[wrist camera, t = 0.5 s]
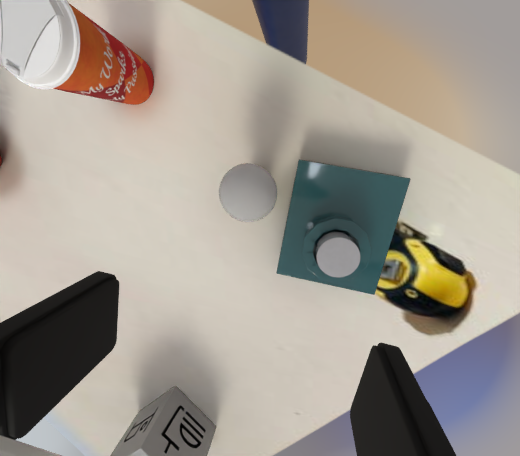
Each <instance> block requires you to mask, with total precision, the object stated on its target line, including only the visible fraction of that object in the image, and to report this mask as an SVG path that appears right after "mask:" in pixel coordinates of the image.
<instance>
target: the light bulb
mask: <svg viewBox="0 0 520 456" xmlns="http://www.w3.org/2000/svg"><path fill="white" fill-rule="evenodd" d="M219 197H220V201H221V204H222V206H223V208H224V209H225V211H226V212H227V213H228V214H229V215H230V216H232V217H233V218H235V219H237V220H240V221H244V222H252V221H257V220H259V219H262V218H263V217H265V216H266V215H267V214H268V213H269V212H270V211H271V210H272V209H273V207H274V205H275V202H276V199H277V187H276V183H275V181H274V179H273V177H272V176H271V174H270V173H269V172H268V171H267V170H266V169H264V168H263V167H261V166H259V165H256V164H248V163H246V164H240V165H237V166H235V167H233V168H232V169H230V170H229V171H228V172H227V173H226V174H225V176H224V177H223V179H222V181H221V184H220V188H219Z"/></svg>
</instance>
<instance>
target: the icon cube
mask: <svg viewBox="0 0 520 456" xmlns="http://www.w3.org/2000/svg"><path fill="white" fill-rule="evenodd" d="M215 429H216V426H215V425H214V424H213V423H212V422H211V421H210V420H209V419H208V418H207V417H206V416H205V415H204V414H203V413H202V412H201V411H200V410H199V409H198V408H197V407H196V406H195V405H194V404H193V403H192V402H191V401H190V400H189V399H188V398H187V397H186V396H185V395H184V394H183V393H182V392H181V391H180V390H179V389H178V388H177V387H176V386H175V387H173V388H172V389H170V390H169V391H167V392H166V393H165V394H163V395H162V396H160V397H159V398H158V399H156V400H155V401H153V402H152V403H151V404H149V405H148V406H146V407H145V408H143V409H142V410H141V411H139V412H138V414H137V415H136V417H135V418H134V420H133V421H132V423H131V425H130V426H129V428H128V429H127V431H126V432H125V434H124V435H123V437H122V438H121V440H120V442H119V443H118V445H117V446H116V448H115V449H114V451H113V452H112V454H111V455H110V456H207V454H208V451H209V448H210V445H211V442H212V439H213V436H214V432H215Z"/></svg>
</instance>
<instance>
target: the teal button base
mask: <svg viewBox="0 0 520 456" xmlns="http://www.w3.org/2000/svg"><path fill="white" fill-rule="evenodd" d="M409 182H410V178H405V177H400V176H394V175H388V174H382V173H376V172H371V171H365V170H359V169H353V168H347V167H341V166H335V165H330V164H324V163H318V162H312V161H306V160H299V161H298V166H297V171H296V177H295V182H294V187H293V192H292V197H291V202H290V207H289V212H288V217H287V222H286V227H285V232H284V237H283V243H282V248H281V253H280V258H279V263H278V268H277V274H282V275H286V276H291V277H296V278H300V279H305V280H309V281H314V282H318V283H323V284H328V285H332V286H337V287H341V288H346V289H351V290H355V291H360V292H364V293H369V294H373V295H374V294H375V291H376V288H377V284H378V281H379V278H380V275H381V272H382V268H383V265H384V262H385V259H386V256H387V252H388V249H389V246H390V243H391V240H392V237H393V233H394V230H395V227H396V224H397V221H398V217H399V214H400V211H401V208H402V205H403V201H404V198H405V195H406V192H407V189H408V185H409ZM330 232H342V233H345V234H347V235H349V236H350V237H351V238H352V239H353V241H354V242H355V244H356V246H357V247H358V249H359V251H360V263H359V265H358V267H357V269H356V270H355V271H354V272H353V273H351V274H350V275H348V276H345V277H332V276H329V275H327V274H325V273H324V272H323V271H322V270H321V269H320V268H319V266H318V264H317V259H316V245H317V243H318V241H319V240H320V238H321V237H322V236H324V235H325V234H327V233H330Z"/></svg>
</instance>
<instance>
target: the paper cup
mask: <svg viewBox="0 0 520 456" xmlns="http://www.w3.org/2000/svg"><path fill="white" fill-rule="evenodd" d="M0 65H1V66H2V67H5V68H6V69H7V70H9V71H10V72H11V73H12V74H13V75H14V76H15V77H16V78H17V79H19V80H20V81H21V82H23V83H24V84H26V85H28V86H30V87H33V88H37V89H52V88H53V89H58V90H62V91H66V92H71V93H76V94H82V95H87V96H92V97H97V98H102V99H106V100H111V101H116V102H121V103H126V104H141V103H143V102H145V101H146V100H147V99H148V98H149V97H150V95H151V93H152V90H153V86H154V79H153V74H152V71H151V69H150V67H149V66H148V64H147V63H146V62H145V61H144V60H143V59H142V58H141V57H139V56H138V55H137V54H136V53H134V52H133V51H132V50H131V49H129V48H128V47H127V46H125V45H124V44H123V43H121V42H120V41H119V40H117V39H116V38H115V37H113V36H112V35H111V34H109V33H108V32H107V31H105V30H104V29H103V28H101V27H100V26H99V25H97V24H96V23H95V22H93V21H92V20H91V19H89V18H88V17H87V16H85V15H84V14H83V13H81V12H80V11H79V10H77V9H76V8H75V7H73V6H72V5H71V4H69V3H68V1H67V0H0Z"/></svg>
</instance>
